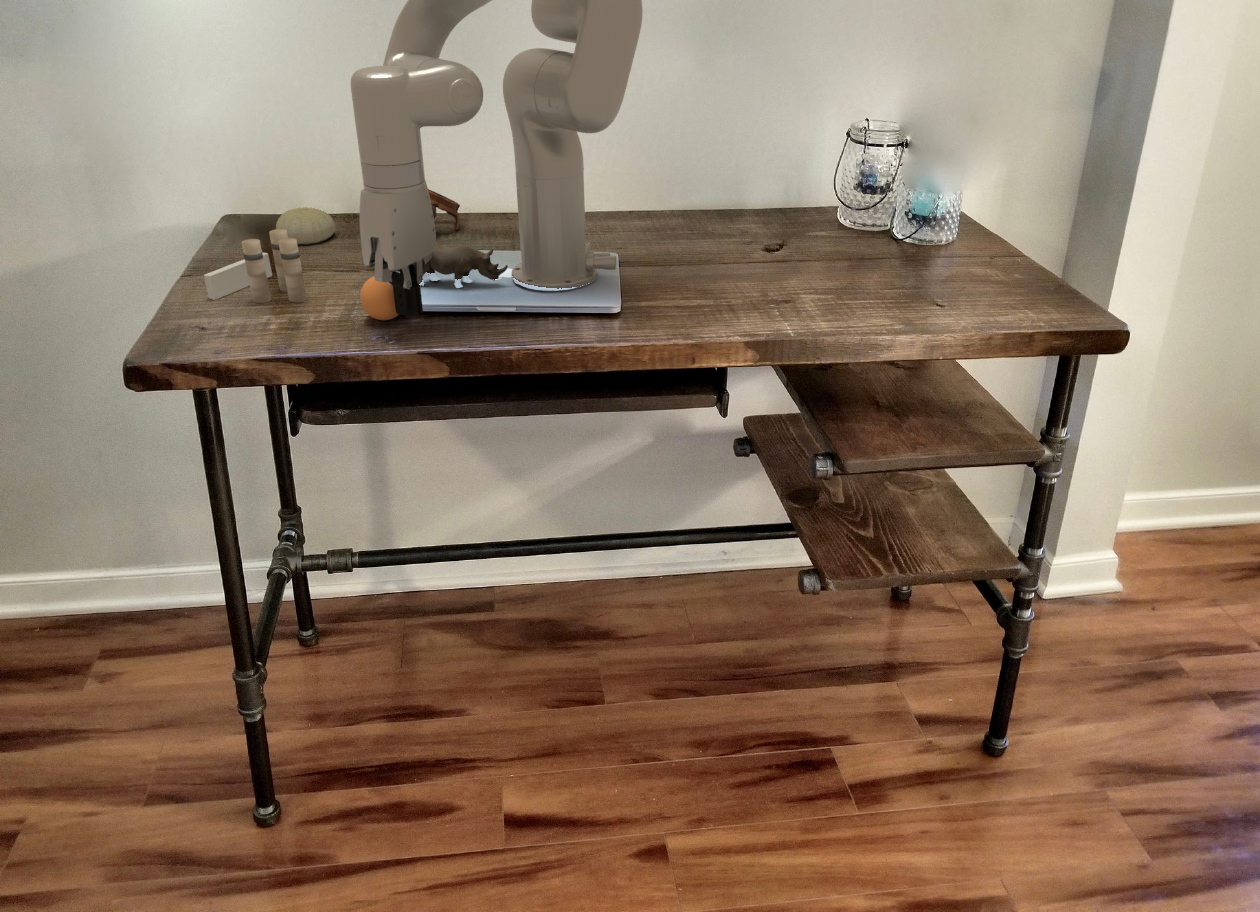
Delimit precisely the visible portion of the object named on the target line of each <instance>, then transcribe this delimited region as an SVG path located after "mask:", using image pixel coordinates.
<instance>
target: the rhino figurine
mask: <svg viewBox="0 0 1260 912" xmlns="http://www.w3.org/2000/svg"><path fill="white" fill-rule="evenodd" d="M493 254H494V248H492V249H490V250H489V251H488V252H486V253H485V252H483V251H481V250H480V249H479V250H478V249H477V248H476V247H472V246H470V245H459V246H455V247H451V246H450V247H448V246H443V245H439V244H436V248H435V250H434V251H433V252H432V258H431V259H430V260H429V261H428V262H427V263H426V264H425V265H424V268H423V277H424V276H425V275H426V274H427V273H430V274H431V273H439V274H441V275H444V276H445V275H447V276H448V275H454V277H453V279H454V280H455V279H457V280H458V279H461V280H463V276H468V275H469V276H470V272H471V271H472V270H474V271H476V270H477V271H478V273H479V274H480V275H481V276H482V277H485V278H487V279H488V280H492V279H494V280H493V281H495V279H498V280H499V277H500V275H502V274H504V273H505V272H506V271H507V270H508V264H505V266H504V267H503V268H498V267H499V265H500V264H499V263H496V264H494V263H492V262H491V256H492V255H493ZM426 272H427V273H426Z"/></svg>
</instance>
